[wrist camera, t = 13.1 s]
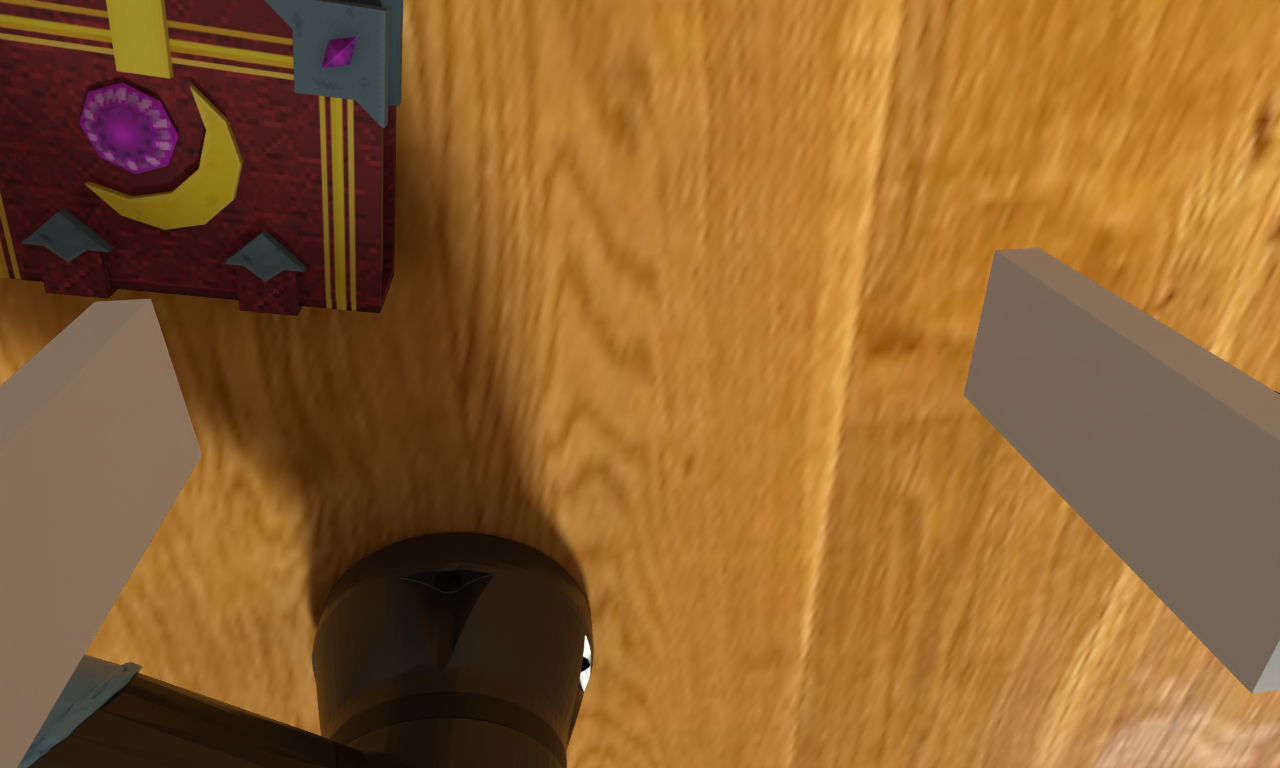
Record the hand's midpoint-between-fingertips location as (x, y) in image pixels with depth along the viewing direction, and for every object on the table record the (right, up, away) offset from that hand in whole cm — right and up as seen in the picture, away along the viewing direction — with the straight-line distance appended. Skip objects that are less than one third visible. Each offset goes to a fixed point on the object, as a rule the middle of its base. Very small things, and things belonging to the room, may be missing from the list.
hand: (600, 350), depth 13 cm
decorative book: (-17, +10, +18) cm, 27 cm away
